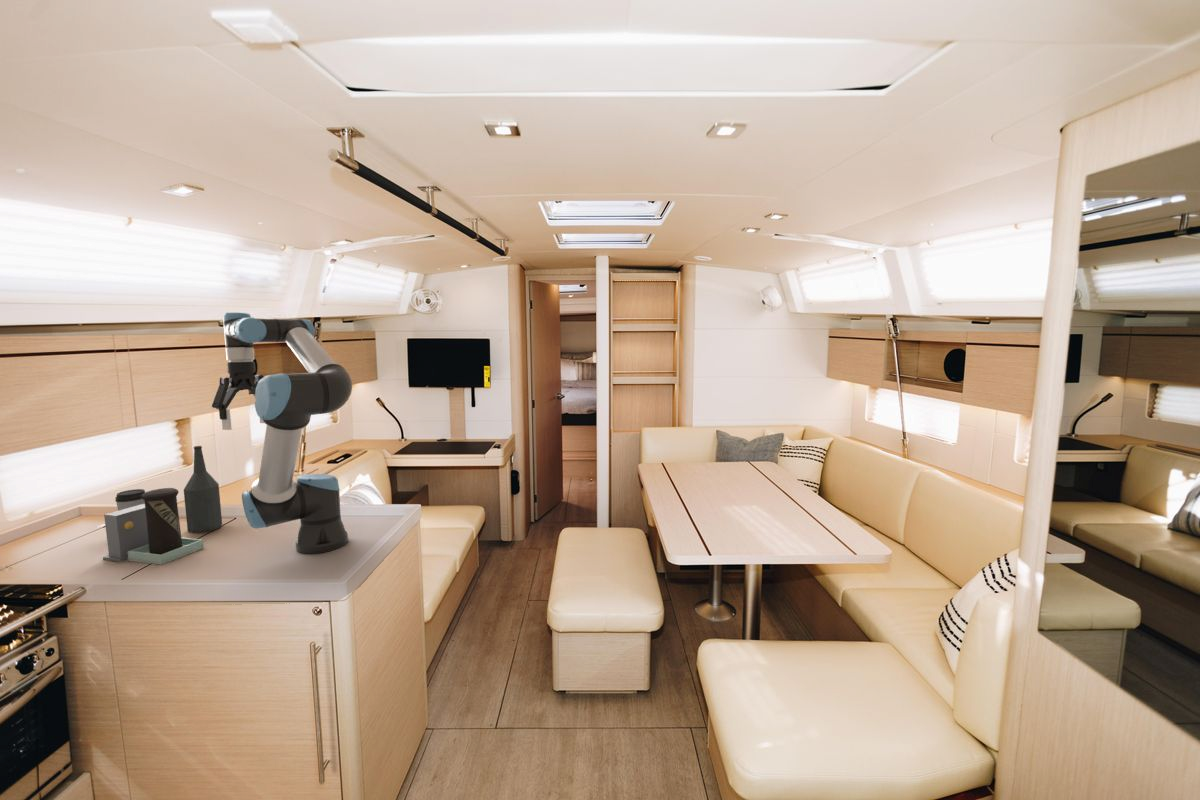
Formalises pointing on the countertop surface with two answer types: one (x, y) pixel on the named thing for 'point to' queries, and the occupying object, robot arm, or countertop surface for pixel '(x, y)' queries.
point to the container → (162, 520)
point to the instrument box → (125, 532)
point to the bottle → (202, 498)
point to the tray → (144, 555)
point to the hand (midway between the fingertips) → (246, 426)
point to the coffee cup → (129, 498)
